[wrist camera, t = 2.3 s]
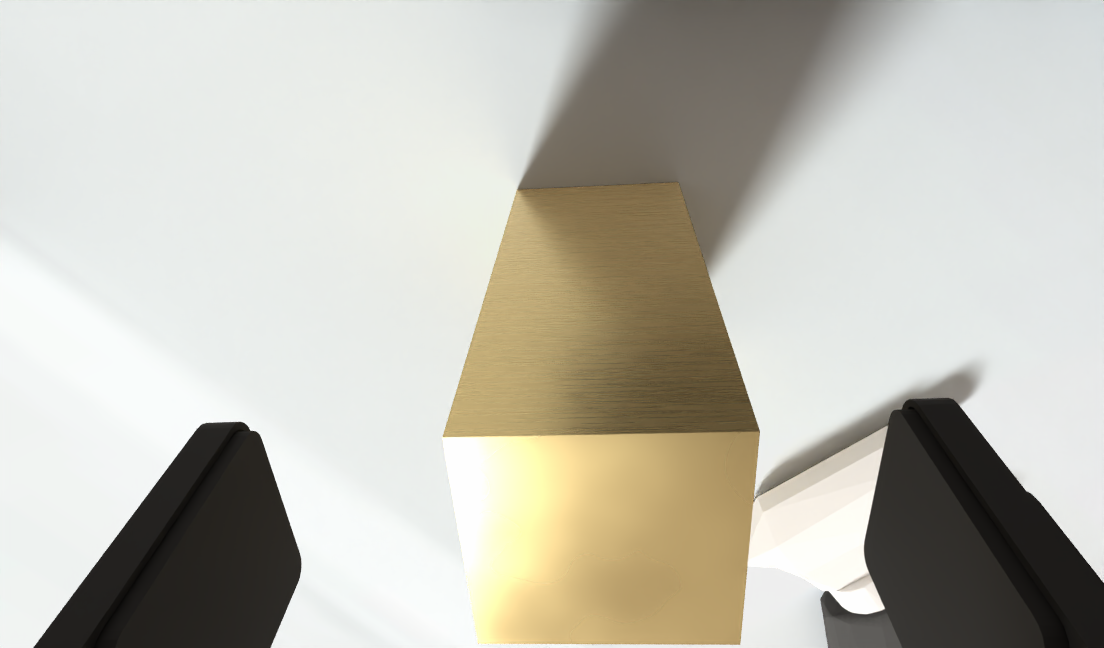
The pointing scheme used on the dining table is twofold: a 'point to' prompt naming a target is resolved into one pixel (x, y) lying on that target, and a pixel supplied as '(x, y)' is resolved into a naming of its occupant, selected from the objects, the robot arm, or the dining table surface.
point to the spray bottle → (828, 541)
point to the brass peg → (602, 430)
